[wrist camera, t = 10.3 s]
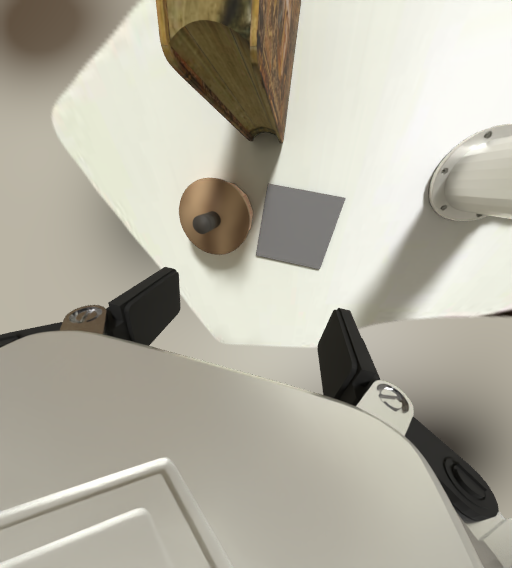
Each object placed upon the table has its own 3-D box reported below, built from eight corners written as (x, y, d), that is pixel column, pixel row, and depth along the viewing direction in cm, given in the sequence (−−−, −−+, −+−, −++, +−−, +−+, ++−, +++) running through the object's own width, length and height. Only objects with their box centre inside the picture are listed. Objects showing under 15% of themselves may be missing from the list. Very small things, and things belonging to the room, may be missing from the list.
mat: (344, 197, 34) (345, 198, 33) (319, 268, 41) (319, 269, 40) (268, 183, 35) (267, 183, 34) (256, 254, 42) (255, 255, 41)
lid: (255, 185, 31) (246, 185, 25) (245, 258, 37) (236, 271, 32) (181, 172, 32) (157, 169, 27) (183, 245, 38) (165, 255, 33)
